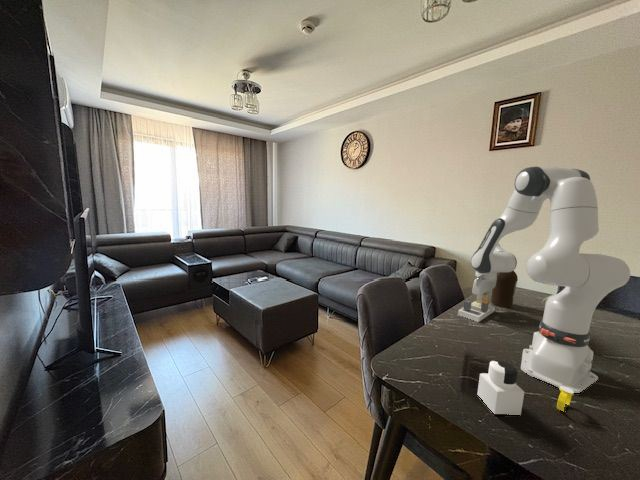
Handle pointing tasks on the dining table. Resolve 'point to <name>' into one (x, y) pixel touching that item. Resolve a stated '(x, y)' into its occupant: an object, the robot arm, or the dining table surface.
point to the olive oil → (504, 289)
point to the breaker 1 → (467, 305)
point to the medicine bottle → (501, 389)
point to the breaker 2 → (484, 305)
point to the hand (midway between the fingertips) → (482, 299)
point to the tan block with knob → (485, 297)
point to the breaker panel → (476, 312)
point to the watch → (564, 397)
